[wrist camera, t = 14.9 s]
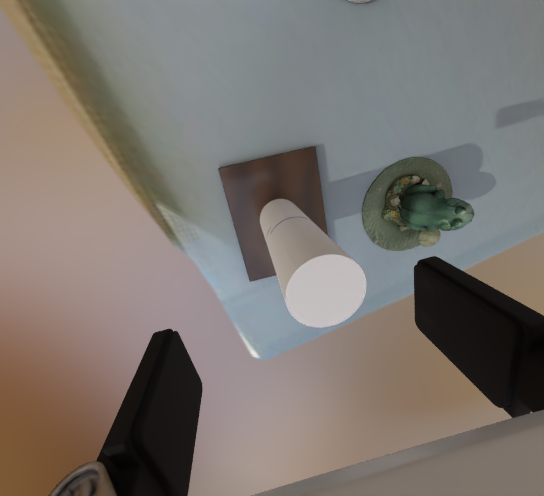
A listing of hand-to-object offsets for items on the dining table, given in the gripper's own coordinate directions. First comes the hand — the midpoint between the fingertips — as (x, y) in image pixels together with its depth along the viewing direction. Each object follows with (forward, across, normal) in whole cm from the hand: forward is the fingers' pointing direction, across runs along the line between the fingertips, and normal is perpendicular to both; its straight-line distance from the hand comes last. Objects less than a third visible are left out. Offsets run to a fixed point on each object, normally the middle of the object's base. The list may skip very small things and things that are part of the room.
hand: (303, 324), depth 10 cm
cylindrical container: (+36, -3, +6) cm, 36 cm away
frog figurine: (+37, -28, +11) cm, 48 cm away
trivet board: (+37, -3, +6) cm, 38 cm away
